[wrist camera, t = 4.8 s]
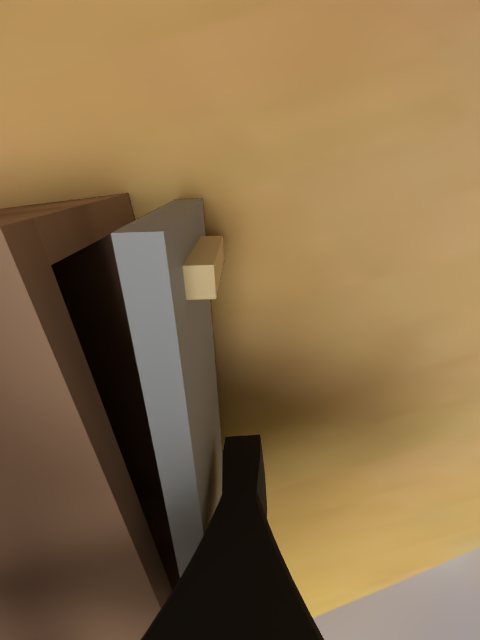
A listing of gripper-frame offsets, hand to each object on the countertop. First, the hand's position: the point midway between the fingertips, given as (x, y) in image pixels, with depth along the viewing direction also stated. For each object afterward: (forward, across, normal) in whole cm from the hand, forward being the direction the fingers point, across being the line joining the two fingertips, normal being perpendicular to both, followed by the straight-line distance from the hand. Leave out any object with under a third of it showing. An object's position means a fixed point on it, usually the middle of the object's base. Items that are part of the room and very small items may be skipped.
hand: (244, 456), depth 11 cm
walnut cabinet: (+2, +6, -2) cm, 7 cm away
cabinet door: (+2, +1, -2) cm, 3 cm away
